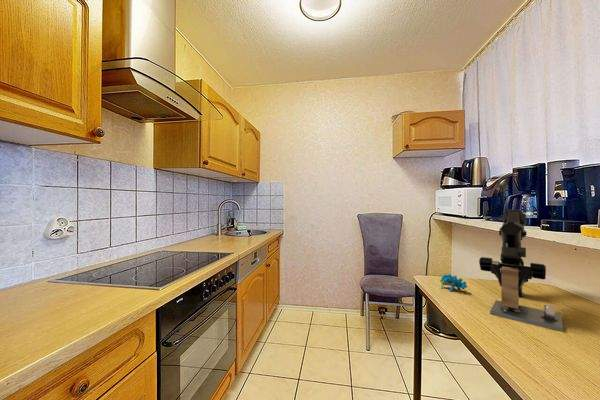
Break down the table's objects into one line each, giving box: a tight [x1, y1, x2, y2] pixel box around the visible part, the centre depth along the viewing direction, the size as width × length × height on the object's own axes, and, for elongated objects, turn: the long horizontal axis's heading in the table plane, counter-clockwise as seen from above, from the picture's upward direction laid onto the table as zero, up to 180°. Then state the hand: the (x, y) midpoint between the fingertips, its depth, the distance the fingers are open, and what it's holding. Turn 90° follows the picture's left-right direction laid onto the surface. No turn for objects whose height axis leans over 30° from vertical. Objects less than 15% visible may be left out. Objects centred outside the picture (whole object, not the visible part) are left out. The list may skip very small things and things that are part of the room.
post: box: [500, 266, 520, 309], centre depth 92 cm, size 4×4×13 cm
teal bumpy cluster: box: [439, 273, 468, 292], centre depth 116 cm, size 11×6×10 cm
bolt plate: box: [489, 299, 564, 333], centre depth 89 cm, size 14×18×5 cm
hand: (509, 287), depth 91 cm, fingers closed on post, 4 cm apart
